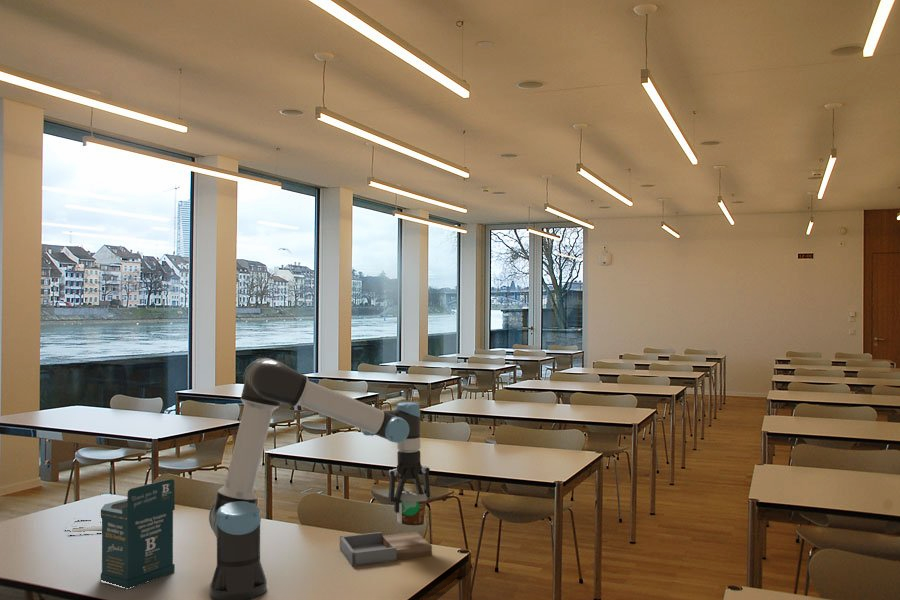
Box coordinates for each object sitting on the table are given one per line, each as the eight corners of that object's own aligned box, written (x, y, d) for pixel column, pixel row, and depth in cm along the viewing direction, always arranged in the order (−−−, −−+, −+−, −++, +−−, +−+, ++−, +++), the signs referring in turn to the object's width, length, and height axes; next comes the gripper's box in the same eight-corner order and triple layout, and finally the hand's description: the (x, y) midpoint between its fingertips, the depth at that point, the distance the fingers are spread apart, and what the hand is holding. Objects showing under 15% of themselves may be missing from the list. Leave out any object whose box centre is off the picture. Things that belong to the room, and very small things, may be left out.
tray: (396, 560, 227) (396, 547, 227) (352, 566, 222) (352, 553, 222) (381, 543, 244) (381, 531, 244) (339, 548, 239) (339, 536, 239)
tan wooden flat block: (431, 555, 233) (431, 545, 233) (395, 559, 228) (395, 550, 228) (416, 540, 247) (416, 531, 248) (381, 544, 243) (381, 535, 243)
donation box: (127, 589, 204) (127, 489, 205) (91, 580, 212) (91, 483, 213) (174, 572, 219) (174, 478, 219) (138, 563, 226) (139, 472, 227)
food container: (387, 520, 240) (388, 489, 241) (402, 517, 245) (403, 487, 245) (411, 528, 231) (412, 497, 232) (426, 525, 236) (427, 494, 236)
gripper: (432, 446, 246) (433, 514, 245) (377, 450, 239) (378, 521, 239) (440, 449, 239) (441, 520, 238) (383, 454, 232) (384, 527, 232)
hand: (409, 521), depth 238 cm, fingers closed on food container, 6 cm apart
